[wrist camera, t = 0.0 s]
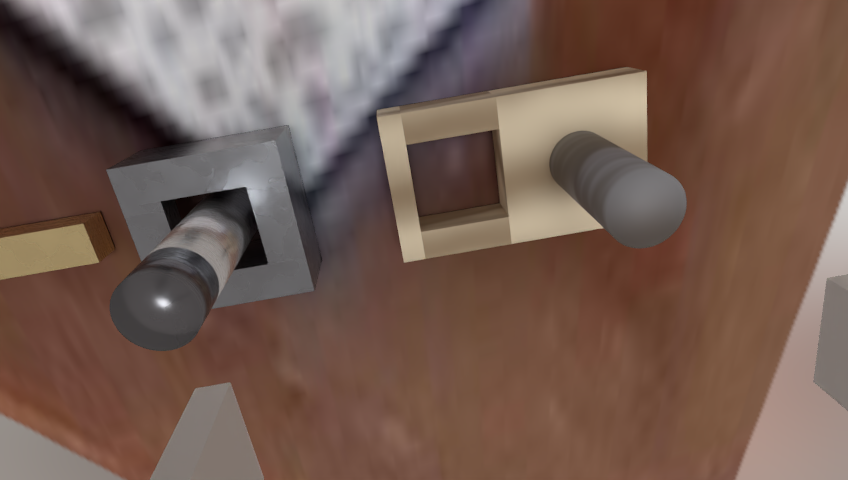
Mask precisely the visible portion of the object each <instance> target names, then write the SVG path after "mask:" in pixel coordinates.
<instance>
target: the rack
mask: <svg viewBox="0 0 848 480" xmlns="http://www.w3.org/2000/svg"><path fill="white" fill-rule="evenodd" d="M377 122H378V127H379V133H380V138H381V143H382V148H383V154H384V159H385V164H386V170H387V175H388V180H389V186H390V191H391V196H392V202H393V207H394V212H395V217H396V223H397V228H398V233H399V239H400V244H401V249H402V255H403V260H404V263H405V262H411V261H416V260H422V259H428V258H434V257H439V256H445V255H451V254H457V253H462V252H468V251H474V250H480V249H485V248H491V247H497V246H503V245H508V244H514V243H520V242H526V241H531V240H537V239H543V238H549V237H554V236H560V235H566V234H572V233H577V232H583V231H589V230H595V229H600V228H604V229H605V230H606V231H608V232H609V233H610V234H611V235H612V236H613V237H614V238H615V239H616V240H617V241H618V242H620V243H621V244H623V245H625V246H628V247H632V248H647V247H652V246H654V245H657V244H659V243H661V242H663V241H664V240H666V239H667V238H669V237H670V236H671V235H672V234H673V233H674V232H675V231H676V230H677V228H678V227H679V225H680V224H681V222H682V220H683V218H684V215H685V211H686V204H687V202H686V194H685V191H684V189H683V187H682V185H681V184H680V182H679V181H678V180H677V179H676V178H674V177H673V176H672V175H670V174H668V173H666V172H664V171H663V170H661V169H659V168H657V167H655V166H654V165H652V164H650V163H648V162H647V71H644V70H639V69H634V68H630V67H624V68H618V69H612V70H606V71H601V72H595V73H589V74H583V75H577V76H572V77H566V78H560V79H554V80H548V81H542V82H537V83H531V84H525V85H519V86H513V87H508V88H502V89H496V90H490V91H484V92H478V93H473V94H467V95H461V96H455V97H449V98H444V99H438V100H432V101H426V102H420V103H414V104H409V105H403V106H397V107H391V108H385V109H380V110H377ZM490 130H492V136H493V144H494V153H495V162H496V171H497V180H498V189H499V198H500V203H498V204H492V205H486V206H480V207H475V208H469V209H463V210H457V211H451V212H446V213H440V214H434V215H428V216H423V217H418V212H417V206H416V200H415V194H414V189H413V183H412V177H411V171H410V165H409V160H408V154H407V148H406V145H409V144H415V143H420V142H426V141H432V140H438V139H444V138H449V137H455V136H461V135H467V134H473V133H478V132H484V131H490Z"/></svg>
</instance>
